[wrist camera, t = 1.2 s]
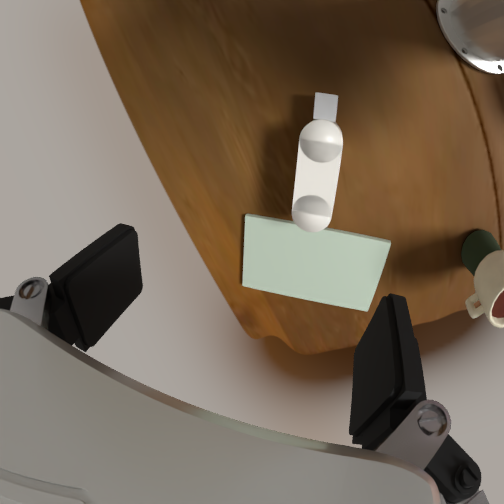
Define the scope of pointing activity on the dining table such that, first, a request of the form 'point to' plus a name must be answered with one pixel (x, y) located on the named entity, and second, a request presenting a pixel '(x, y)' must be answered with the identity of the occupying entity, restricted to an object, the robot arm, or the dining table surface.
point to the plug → (318, 166)
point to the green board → (312, 262)
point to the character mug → (485, 276)
